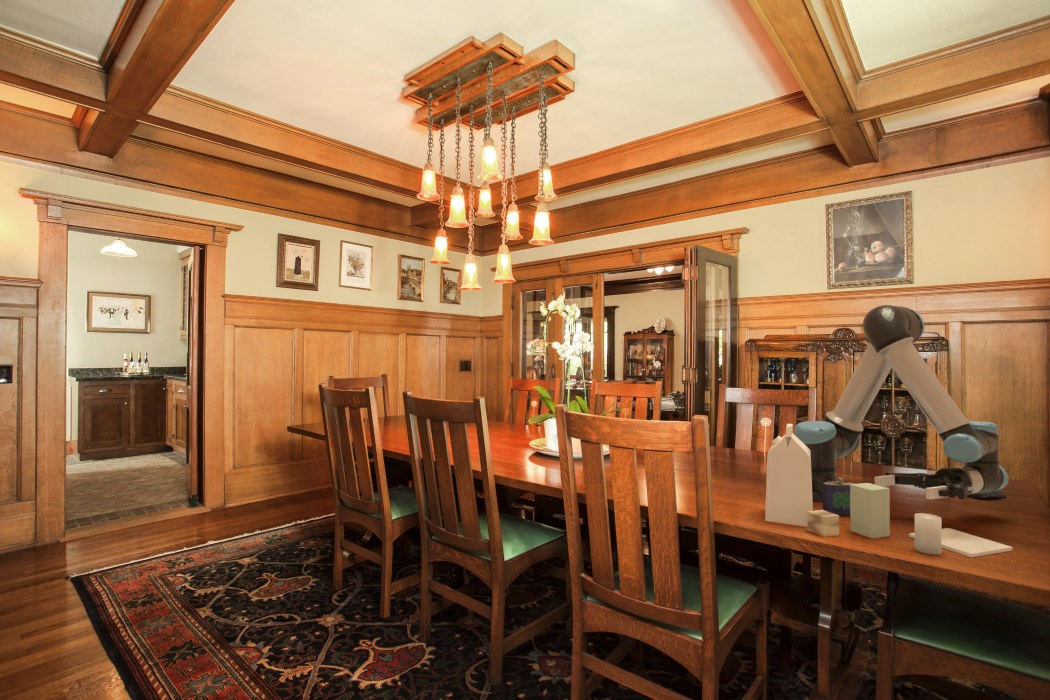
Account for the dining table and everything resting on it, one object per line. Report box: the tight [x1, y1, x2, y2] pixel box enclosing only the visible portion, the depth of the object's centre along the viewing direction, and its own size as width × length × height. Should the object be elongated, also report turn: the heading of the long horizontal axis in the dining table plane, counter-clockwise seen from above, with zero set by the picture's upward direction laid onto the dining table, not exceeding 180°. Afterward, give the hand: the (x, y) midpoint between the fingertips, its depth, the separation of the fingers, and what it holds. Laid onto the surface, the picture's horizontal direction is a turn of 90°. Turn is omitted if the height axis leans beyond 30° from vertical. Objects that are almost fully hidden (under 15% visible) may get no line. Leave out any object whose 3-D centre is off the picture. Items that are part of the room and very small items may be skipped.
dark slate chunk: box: [913, 472, 1008, 500], centre depth 175 cm, size 15×22×5 cm
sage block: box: [849, 482, 891, 539], centre depth 134 cm, size 6×6×12 cm
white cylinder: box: [914, 512, 943, 556], centre depth 123 cm, size 5×5×8 cm
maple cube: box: [807, 509, 840, 538], centre depth 135 cm, size 5×5×5 cm
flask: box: [822, 476, 855, 517], centre depth 149 cm, size 9×3×11 cm, turn 88°
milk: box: [764, 423, 814, 528], centre depth 147 cm, size 12×12×26 cm
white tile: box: [908, 527, 1013, 559], centre depth 127 cm, size 14×14×1 cm
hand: (900, 487), depth 137 cm, fingers open, 13 cm apart
